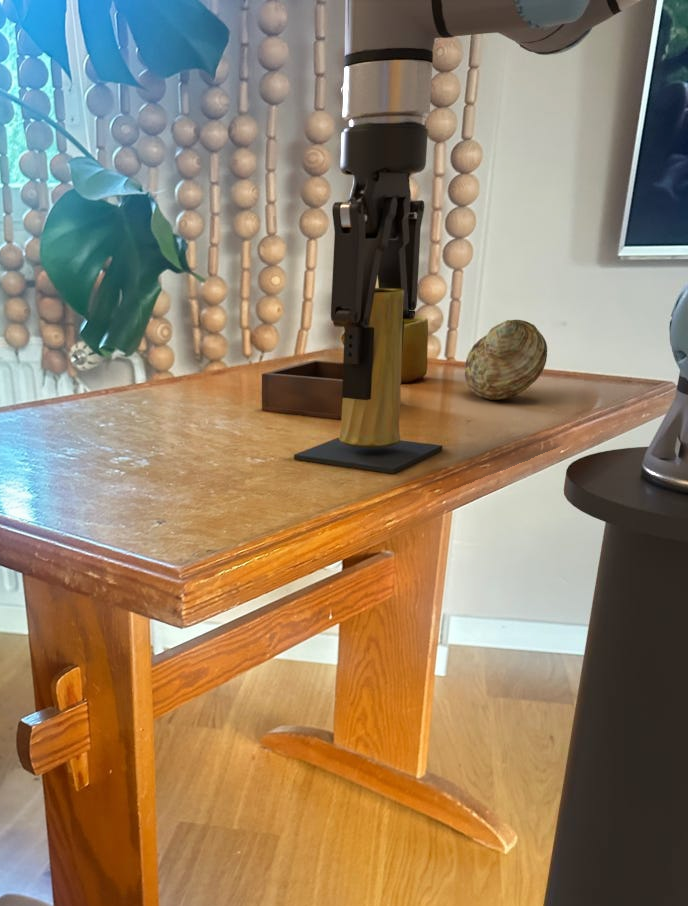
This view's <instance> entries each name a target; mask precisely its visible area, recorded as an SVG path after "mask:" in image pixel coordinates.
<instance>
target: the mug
mask: <svg viewBox="0 0 688 906" xmlns="http://www.w3.org/2000/svg"><path fill="white" fill-rule="evenodd" d="M403 321H404V332H403V348H402V365H401V384H405V383H411V382H413V381H415V380H420V379H423V378H424V377H426V375H427V373H428V362H429V361H428V347H429V321H428V318H427V317H425V316H415V317H414V319H412V320H409V319H403ZM340 340H341V344H342V345H343V346H344V331H343V332H342V333H341V336H340Z"/></svg>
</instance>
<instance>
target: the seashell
mask: <svg viewBox="0 0 688 906" xmlns="http://www.w3.org/2000/svg"><path fill="white" fill-rule="evenodd" d="M545 339H546V338H545V337H544V336H543V334H542V333H541V332H540V330H539V329H538V328H537V327H536V325H535V324H533V323H531V322H529V321H526V320H522V319H506V320H505V321H502V322H501V323H498V324H496V325H495V326H493V327H492V328H490V330H489V331H488V332H487V334H486V335H485V336H483V337H482V338H480V339H479V340H477V341H476V343H474V345H473V346H472V347H471V349H470V350H469V352H468V354H467V356H466V360H465V370H464V376H465V377H464V378H465V382H466V383H467V386H468V388H470V390H471V392H473V393H474V394H475V395H476V396H479V397H480V398H483V399H486V400H489V401H499V400H507V399H510V398H513V397H515V396H518V395H519V394H520V393H522V392H525V391H526V390H527V389H528V388H529V387H530V386H532V385H533V384H534V383H535V382H536V381H537V379H539V377H540V376H541V374H542V373H543V371H544V369H545V367H546V363H547V357H548V345H547V341H546V340H545Z"/></svg>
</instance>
